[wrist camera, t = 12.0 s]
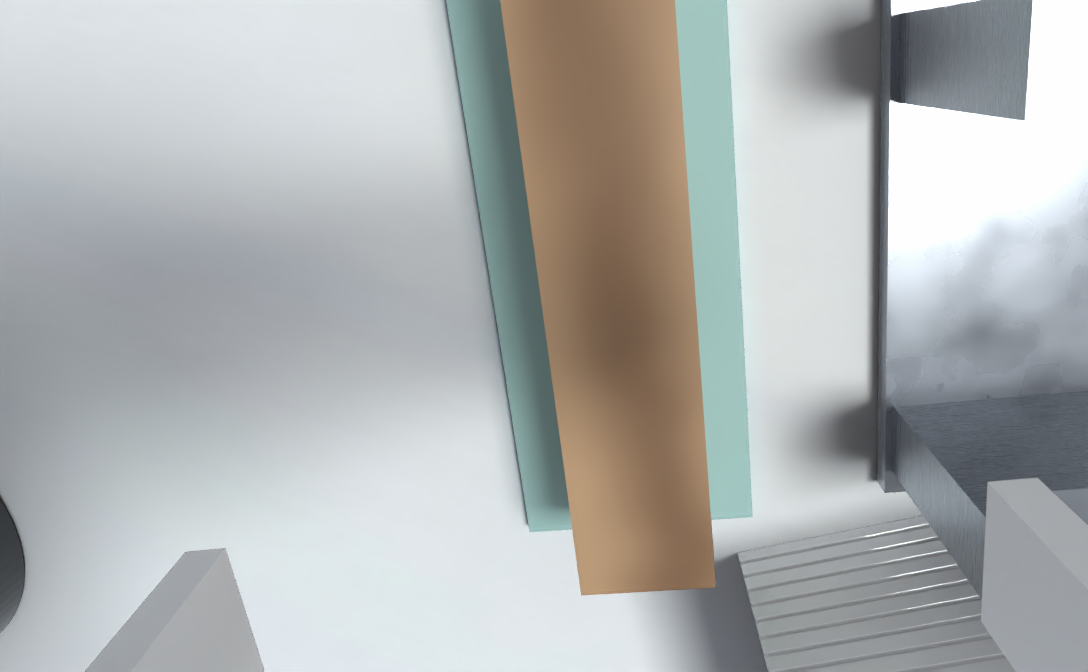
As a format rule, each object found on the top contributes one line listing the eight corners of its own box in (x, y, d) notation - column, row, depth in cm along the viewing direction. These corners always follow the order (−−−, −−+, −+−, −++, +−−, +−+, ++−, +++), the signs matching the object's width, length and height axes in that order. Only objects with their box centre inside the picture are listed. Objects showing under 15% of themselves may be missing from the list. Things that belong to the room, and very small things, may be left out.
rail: (585, 509, 35) (581, 595, 29) (516, -23, 28) (494, -44, 22) (698, 501, 34) (715, 587, 29) (657, -44, 27) (669, -71, 22)
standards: (876, 480, 34) (979, 640, 25) (881, -14, 28) (1023, -53, 18) (1097, 464, 33) (1292, 625, 24) (1155, -53, 27) (1454, -116, 17)
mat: (530, 524, 36) (529, 531, 36) (442, -40, 28) (439, -42, 28) (750, 509, 35) (752, 516, 34) (719, -83, 27) (722, -86, 27)
